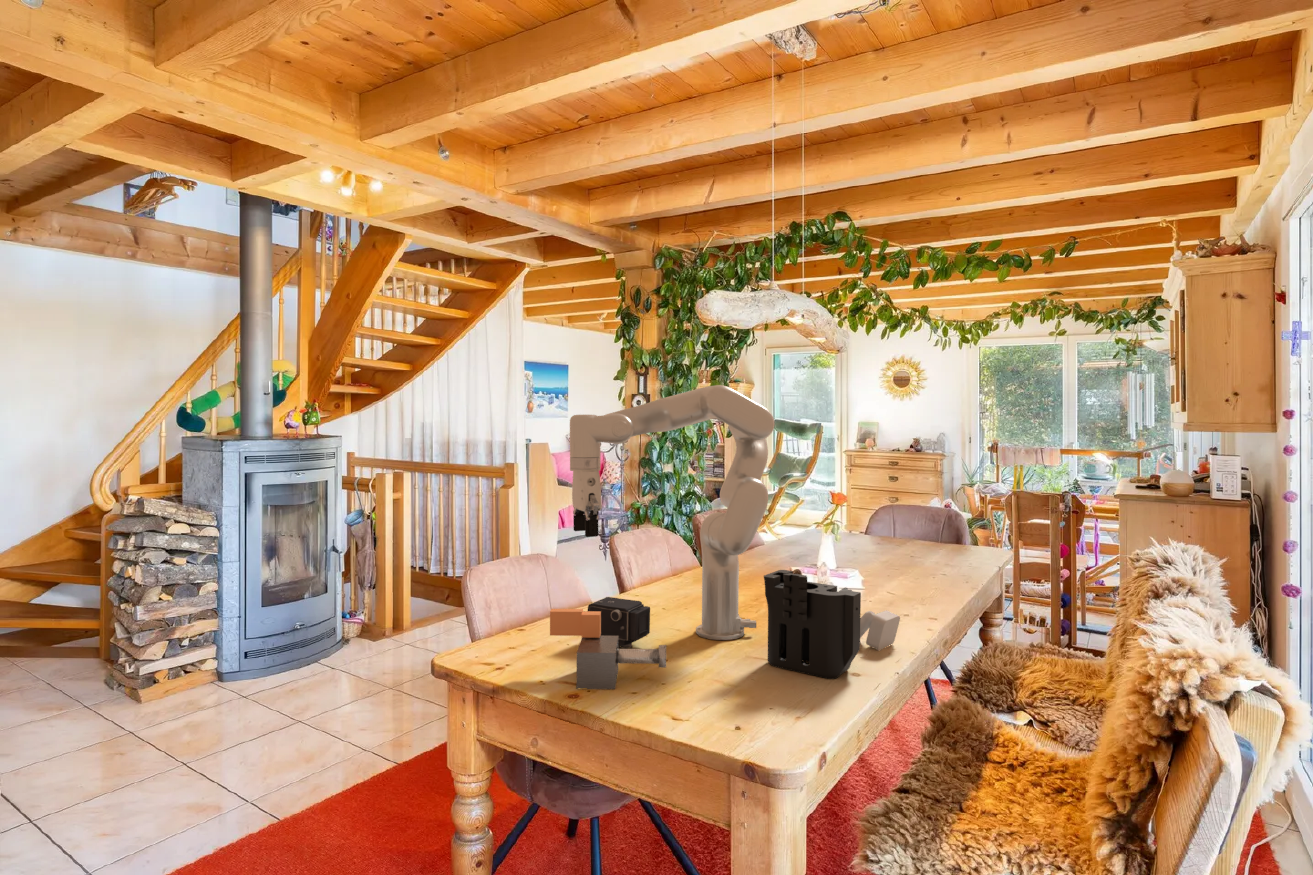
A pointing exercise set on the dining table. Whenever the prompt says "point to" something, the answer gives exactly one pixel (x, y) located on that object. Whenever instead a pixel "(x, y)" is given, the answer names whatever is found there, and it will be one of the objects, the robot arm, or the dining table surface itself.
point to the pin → (642, 656)
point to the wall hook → (879, 628)
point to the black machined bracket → (811, 625)
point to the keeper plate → (575, 623)
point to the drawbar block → (597, 662)
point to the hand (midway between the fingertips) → (585, 533)
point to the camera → (623, 619)
